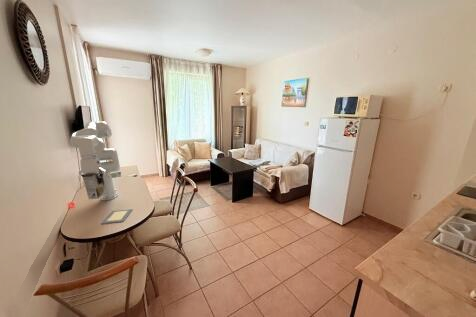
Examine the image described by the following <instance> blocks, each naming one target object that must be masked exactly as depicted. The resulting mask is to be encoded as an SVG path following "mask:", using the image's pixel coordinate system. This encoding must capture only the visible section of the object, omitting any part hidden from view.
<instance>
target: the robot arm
mask: <svg viewBox="0 0 476 317" xmlns="http://www.w3.org/2000/svg"><path fill="white" fill-rule="evenodd" d="M112 134H113V133H112V129H111V128H110V125H109V124H108V122H106V121H104V120H103V121H101V120H100V121H98V120H97V121H88V122H86V123H85V125H84V128H82V129H80V130H77V131H74V132H73V133H72V134H71V136H70V140H69V143H70V145H71V147H73V148H74V149H78V151H79V156H80V170H79V171H78V175H80V176H81V177H82V178H83V176H84V175H87V174H96V175H97V176H98V177H99V178H98V182H99V184H101V183H102V182H103V179H104V183H105V188H106V192H107V193H106V194H104V195H103V196H101V197H100V198H99V199H100V200H101V201H110V200H114V199H115V198H117V197H118V195H119V194H118V193H117V192H116V191H117V189H116V188H115V185H114V180H113V177H112V176H111V175H110V173H115V172H119V171H120V169H121V168H120V167H121V166H120V161H119V155H118V150H117V149H116V148H114V147H113V148H112V147H111V148H109V147H108V148H107V147H106V143H105V142H104V140H102V139H105V138H106V139H107V138H110V137H112ZM109 160H110V161H109ZM101 172H102V173H101ZM102 176H103V179H102Z"/></svg>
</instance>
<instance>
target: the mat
mask: <svg viewBox="0 0 476 317" xmlns="http://www.w3.org/2000/svg"><path fill="white" fill-rule="evenodd" d="M133 210H134V209H133V208H130V209H119V210H112V211H111V212H110V213H109V214H108V215H107V216H106V218H105V219H104V220H103V221H101V223H100V225H105V223H107V224H117V223H124V222H125V220H126V219H127V218H128V217H129V215H130V214H131V213H132V211H133Z"/></svg>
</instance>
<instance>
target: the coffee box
mask: <svg viewBox="0 0 476 317" xmlns="http://www.w3.org/2000/svg"><path fill="white" fill-rule="evenodd" d="M101 173H102V172H101ZM98 178H99V177H98V176H97V175H96V174H87V175H84V176H83V177H82V180H83V183H84V187H85V190H86V195H87V198H88V200H98V199H100V198H101V197H102V196H103V195H104V194H106V193H107V192H106V188H105V183H104V179H103V176H102V179H103V182H102V183H101V184H99V182H98Z"/></svg>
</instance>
